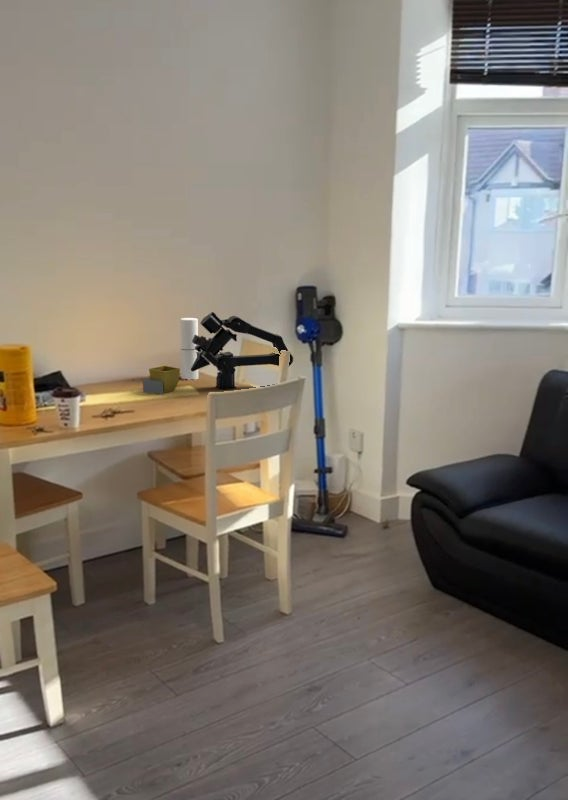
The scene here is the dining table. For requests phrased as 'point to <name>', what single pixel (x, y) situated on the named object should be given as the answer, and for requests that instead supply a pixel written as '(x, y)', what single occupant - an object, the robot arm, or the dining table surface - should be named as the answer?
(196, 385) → the dining table surface
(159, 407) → the dining table surface
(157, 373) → the flower pot
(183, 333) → the cylindrical container
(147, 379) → the V-block
